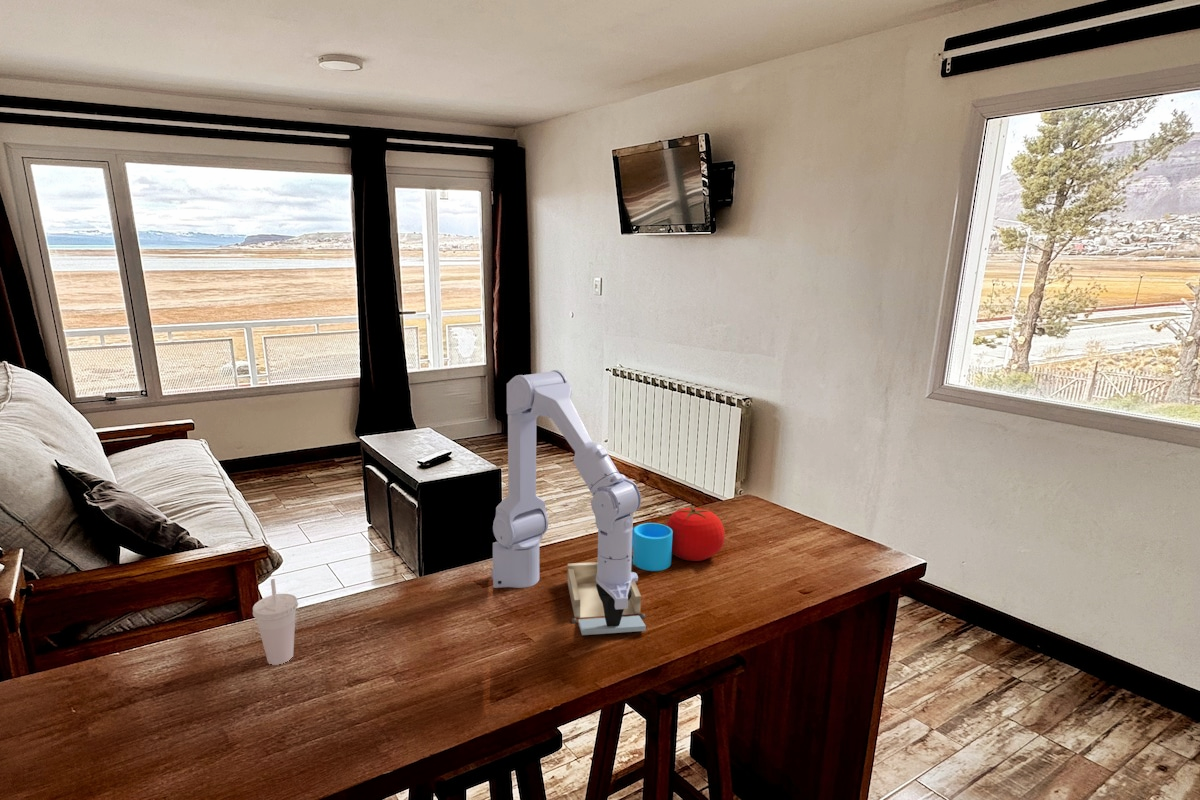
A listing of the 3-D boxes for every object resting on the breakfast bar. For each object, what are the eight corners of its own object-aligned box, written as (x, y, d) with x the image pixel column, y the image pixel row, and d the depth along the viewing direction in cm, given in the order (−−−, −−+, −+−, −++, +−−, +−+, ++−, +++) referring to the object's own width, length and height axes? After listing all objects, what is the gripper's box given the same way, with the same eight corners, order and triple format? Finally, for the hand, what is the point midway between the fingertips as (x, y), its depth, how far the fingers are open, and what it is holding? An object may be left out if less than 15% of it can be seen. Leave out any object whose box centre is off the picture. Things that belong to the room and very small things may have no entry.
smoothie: (257, 675, 97) (248, 592, 94) (258, 652, 103) (249, 573, 100) (303, 663, 100) (296, 583, 97) (301, 642, 106) (294, 565, 103)
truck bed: (572, 628, 112) (572, 602, 110) (564, 586, 126) (564, 563, 125) (645, 623, 114) (646, 597, 112) (629, 583, 128) (630, 560, 127)
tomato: (654, 548, 143) (656, 503, 141) (704, 540, 148) (707, 496, 146) (679, 572, 132) (682, 523, 130) (733, 563, 137) (736, 515, 135)
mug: (678, 569, 134) (680, 533, 132) (648, 579, 130) (649, 542, 128) (644, 548, 144) (646, 514, 142) (615, 556, 139) (616, 521, 138)
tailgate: (578, 624, 112) (582, 635, 106) (578, 619, 112) (581, 630, 106) (639, 619, 113) (645, 630, 108) (639, 615, 113) (645, 626, 108)
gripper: (647, 571, 99) (644, 648, 102) (629, 532, 113) (627, 601, 116) (603, 573, 98) (601, 651, 101) (590, 534, 112) (589, 604, 115)
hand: (612, 625), depth 109 cm, fingers closed, pressing on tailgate
